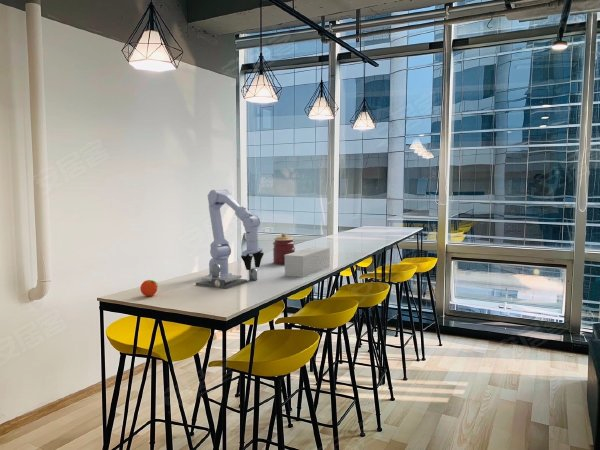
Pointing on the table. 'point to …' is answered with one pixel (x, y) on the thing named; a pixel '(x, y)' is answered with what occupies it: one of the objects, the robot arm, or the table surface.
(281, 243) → the canister
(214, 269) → the spacer
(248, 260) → the robot arm
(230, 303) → the table surface
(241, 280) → the scale
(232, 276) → the pan
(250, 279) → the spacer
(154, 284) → the clementine
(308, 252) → the light grey rectangular block
